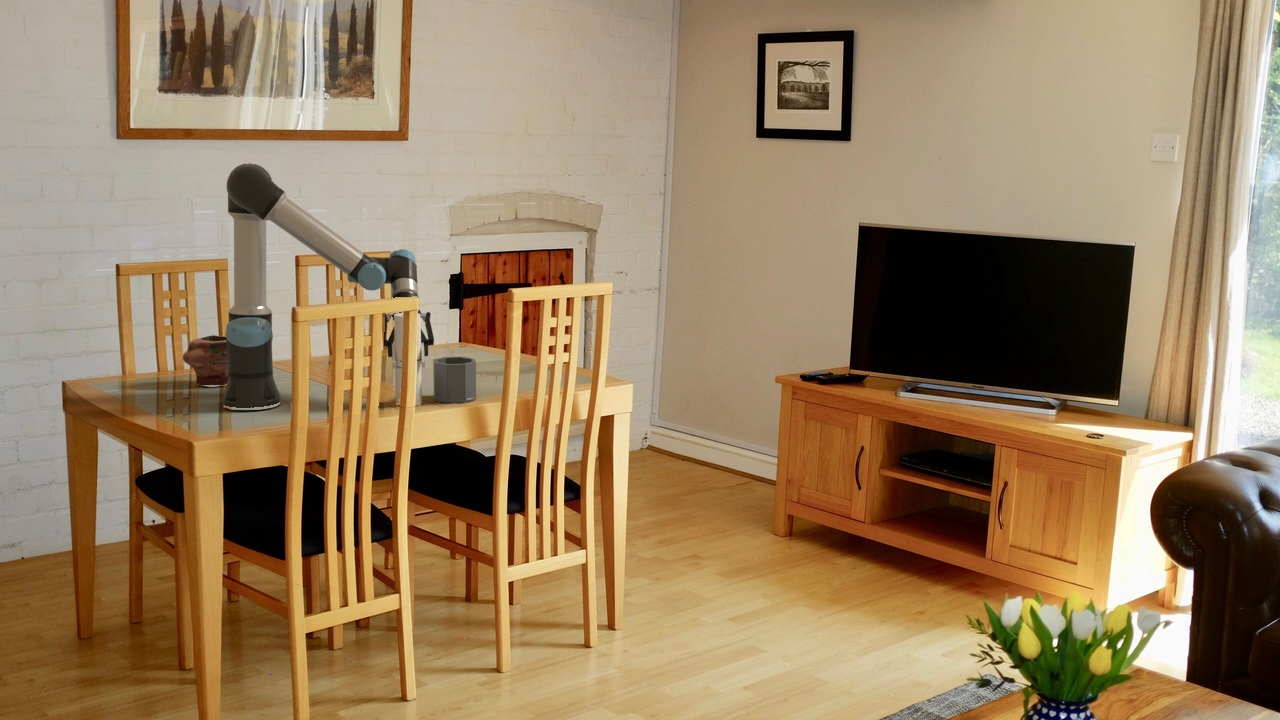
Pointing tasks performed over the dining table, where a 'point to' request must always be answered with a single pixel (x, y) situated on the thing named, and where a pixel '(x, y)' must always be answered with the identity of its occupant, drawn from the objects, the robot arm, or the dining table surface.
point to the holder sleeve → (454, 379)
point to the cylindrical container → (398, 356)
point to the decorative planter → (208, 360)
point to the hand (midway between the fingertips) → (408, 365)
